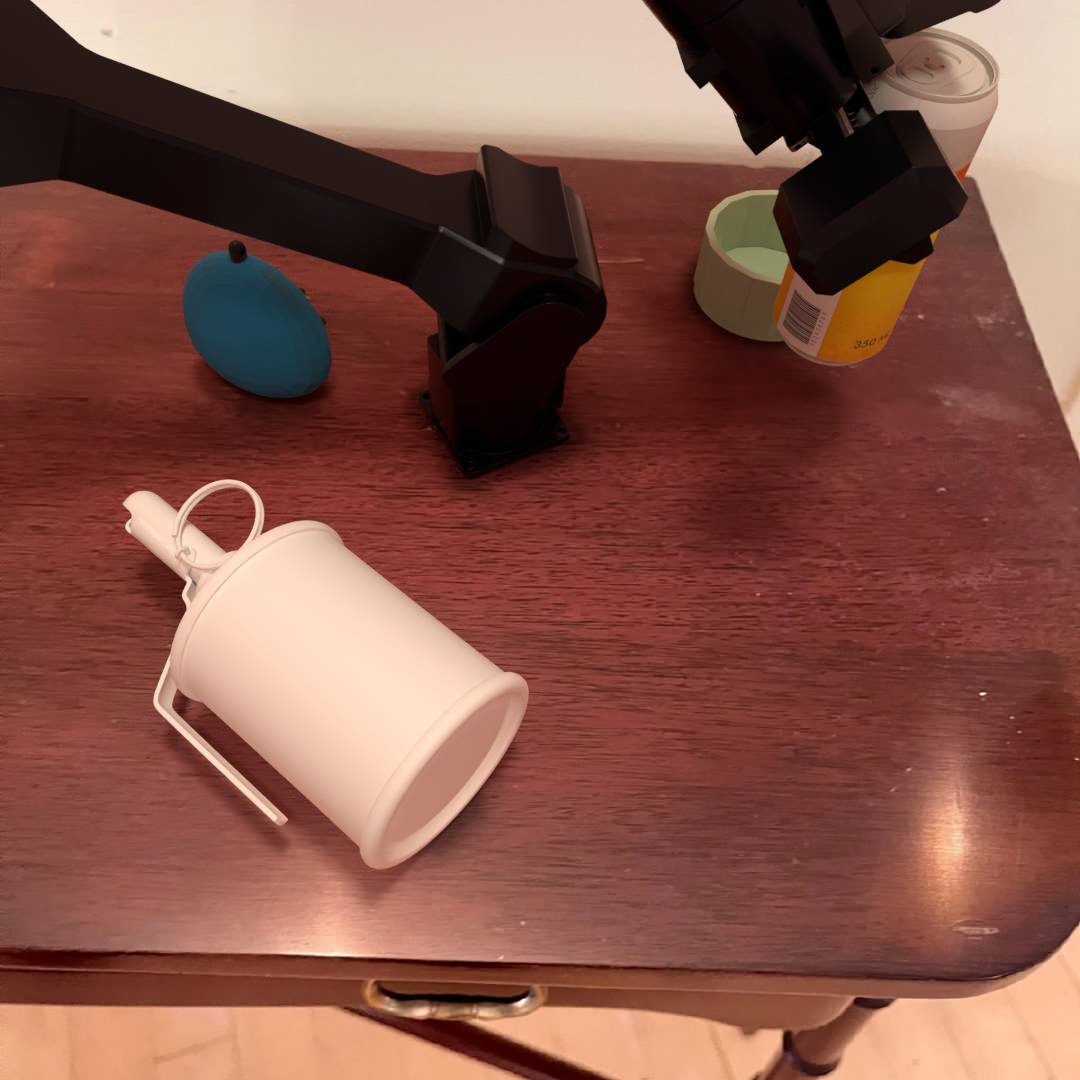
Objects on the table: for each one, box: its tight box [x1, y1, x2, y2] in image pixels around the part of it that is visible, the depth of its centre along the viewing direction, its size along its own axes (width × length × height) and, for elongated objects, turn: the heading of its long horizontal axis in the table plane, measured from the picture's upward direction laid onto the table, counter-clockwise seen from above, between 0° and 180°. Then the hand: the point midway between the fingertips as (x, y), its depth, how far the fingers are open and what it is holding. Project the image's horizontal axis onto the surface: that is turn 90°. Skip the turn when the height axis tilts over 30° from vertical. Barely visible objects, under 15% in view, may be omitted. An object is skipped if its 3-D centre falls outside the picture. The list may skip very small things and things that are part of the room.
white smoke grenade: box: [122, 479, 530, 870], centre depth 43 cm, size 10×9×20 cm
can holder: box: [693, 189, 789, 342], centre depth 62 cm, size 9×9×4 cm
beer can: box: [773, 26, 1001, 367], centre depth 47 cm, size 6×6×15 cm
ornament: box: [182, 239, 333, 399], centre depth 53 cm, size 8×5×10 cm, turn 70°
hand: (901, 211), depth 47 cm, fingers closed on beer can, 6 cm apart
